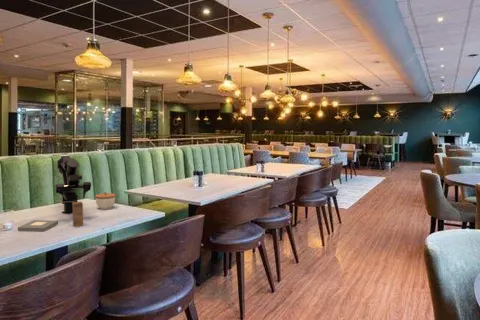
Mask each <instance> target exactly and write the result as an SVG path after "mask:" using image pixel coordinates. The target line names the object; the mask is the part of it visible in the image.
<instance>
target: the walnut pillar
mask: <svg viewBox="0 0 480 320" xmlns="http://www.w3.org/2000/svg"><path fill="white" fill-rule="evenodd" d="M83 203H84V202H83V201H77V202H72V206H73V213H72V226H73V228H76V227H78V228H79V227H83V226H84V210H83V209H84V205H83Z"/></svg>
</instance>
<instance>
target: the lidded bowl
mask: <svg viewBox="0 0 480 320" xmlns="http://www.w3.org/2000/svg"><path fill="white" fill-rule="evenodd" d="M94 197H95V203H96V207H98V208H99V209H100V210H110V209H112V207H114V205H115V203H116V202H115V201H116V194H115V193H107V192H106V191H104V193H98V194H96V195H95V196H94Z"/></svg>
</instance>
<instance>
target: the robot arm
mask: <svg viewBox="0 0 480 320" xmlns="http://www.w3.org/2000/svg"><path fill="white" fill-rule="evenodd" d="M78 167H80V165H79V161H77V160H76V159H74V158H71V157H70V156H69V155H62V156H60V158H59V159H58V160H57V162H56V168H57V170H58V173H60V174H61V177H62V183H56V184H55V194H59V195H61V204H62V205H63V211H61V213H62V214H63V213H64V214H67V215H69V214H73V206H72V202H78V198H79V196H78V193H76V189H77V190H78V189H82V198H83V199H85V197H86V193H87V192H89V191H91V188H92V183H91V182H90V181H83V183H82V184H80V181H81V180H83V174H82V173H78V174H77V172H78Z"/></svg>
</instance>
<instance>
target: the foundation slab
mask: <svg viewBox="0 0 480 320" xmlns="http://www.w3.org/2000/svg"><path fill="white" fill-rule="evenodd" d="M57 225H59V220H45V219H44V220H43V219H42V220H41V219H39V220H38V219H33V220H30V221H28V222H26V223H24V224H22V225H20V226H18V227H17V232H39V233H41V232H46V231H48V230H50V229H52V228H54V227H56V226H57Z"/></svg>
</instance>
